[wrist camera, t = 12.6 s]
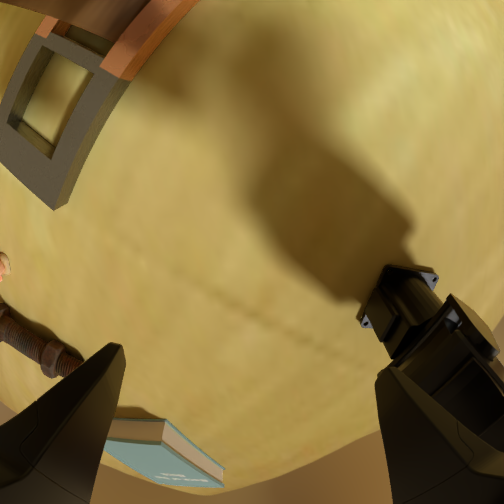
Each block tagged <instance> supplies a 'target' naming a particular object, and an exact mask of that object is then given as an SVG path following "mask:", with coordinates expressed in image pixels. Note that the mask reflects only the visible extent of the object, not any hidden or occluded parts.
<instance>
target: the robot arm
mask: <svg viewBox="0 0 504 504" xmlns="http://www.w3.org/2000/svg"><path fill="white" fill-rule="evenodd" d="M388 270H390V272H388ZM433 278H434V279H433ZM438 279H439V277H438V275H437V274H436V273H433V272H428V271H422V270H417V269H411V268H406V267H400V266H395V265H386V266H385V267H384V269H383V271H382V273H381V276H380V278H379V281H378V283H377V285H376V287H375V289H374V291H373V293H372V295H371V297H370V300H369V302H368V304H367V306H366V308H365V312H364V314H363V316H362V318H361V320H360V325H361V327H363V328H373V329H374V331H375V333H376V335H377V337H378V339H379V341H380V342H383V344H384V346H385V348H386V350H387V352H388V354H389V356H390V358H391V359H394V360H393V361H392V362H391V363H390V364H389V365H388V366H387V367H386V368H384V369H383V370H381V371H380V372H379V373H378V374H377V377H378V378H377V379H376V381H375V393H376V401H377V410H378V418H379V424H380V429H381V434H382V439H383V444H384V449H385V454H386V460H387V466H388V472H389V478H390V485H391V492H392V499H393V504H504V366H503V365H502V364H501V362H500V361H499V360H498V359H497V357H496V356H497V355H498V354H499V352H500V349H499V347H498V345H497V343H496V340H495V338H494V337H493V334H492V332H491V330H490V329H489V327H488V326H487V325H486V324H485V322H484V321H483V320H482V319H481V318H480V317H479V316H478V315H477V314H476V312H475V311H474V310H472V309H471V308H470V307H468V306H467V305H466V304H465V303H463V302H462V301H461V300H459V299H458V298H457V297H455V296H454V295H453V294H451V293H450V294H449V296H448V297H447V298H446V301H445V303H444V304H443V302H442V301H441V300H440V299H439V298H438V297H437V295H436V294H435V293H434V292H433V290H434V288H435V286H436V283H437V281H438ZM365 322H366V323H365ZM125 367H126V360H125V355H124V350H123V346H122V345H121V344H117V343H113V342H110V343H108V344H107V345H105V346H104V347H103V348H102V349H100V350H99V351H98V352H96V353H95V354H94V355H93V356H91V357H90V358H89V359H87V360H86V361H85V362H84V363H82V364H81V365H80V366H79V367H77V368H76V369H75V370H73V371H72V372H71V373H70V374H68V375H67V376H66V377H65V378H63V379H62V380H61V381H60V382H58V383H57V384H56V385H55V386H53V387H52V388H51V389H50V390H48V391H47V392H46V393H45V394H43V395H42V396H41V397H40V398H38V399H37V401H34V402H33V403H32V404H31V405H30V406H28V407H27V408H26V409H24V410H23V411H22V412H20V413H19V414H18V415H16V416H15V417H13V418H12V419H10V420H9V421H7V422H6V423H4V424H2V425H1V426H0V504H90V499H91V495H92V491H93V487H94V483H95V478H96V475H97V470H98V467H99V464H100V460H101V456H102V453H103V449H104V446H105V443H106V439H107V436H108V433H109V430H110V426H111V423H112V420H113V417H114V414H115V411H116V407H117V404H118V399H119V394H120V389H121V385H122V380H123V376H124V372H125Z"/></svg>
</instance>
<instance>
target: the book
mask: <svg viewBox="0 0 504 504" xmlns="http://www.w3.org/2000/svg"><path fill="white" fill-rule="evenodd" d="M103 450H105V451H106V452H107V453H109V454H110V455H112V456H113V457H115V458H116V459H118V460H119V461H121V462H122V463H124V464H126V465H127V466H129V467H130V468H132V469H134V470H135V471H137V472H139V473H140V474H142V475H144V476H146V477H147V478H149V479H151V480H153V481H155V482H156V483H158V484H162V483H164V484H167V485H177V486H190V487H224V484H223V483H222V479H223V470H225V468H224V467H222V466H221V465H220V464H218V463H217V462H216V461H214V460H213V459H212V458H210V457H209V456H208V455H207V454H205V453H204V452H203V451H202V450H201V449H199V448H198V447H197V446H196V445H195V444H193V443H192V442H191V441H190V440H189V439H188V438H186V437H185V436H184V435H183V434H182V433H181V432H180V431H179V430H178V429H176V428H175V427H174V426H173V425H172V424H171V423H170V422H169V421H168V420H167V419H128V418H113V420H112V423H111V426H110V430H109V433H108V436H107V439H106V443H105V446H104V449H103Z"/></svg>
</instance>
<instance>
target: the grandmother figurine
mask: <svg viewBox="0 0 504 504" xmlns="http://www.w3.org/2000/svg"><path fill="white" fill-rule="evenodd" d="M10 273H11V269H10V265H9V260H8V258H7V256H6V255H5V254H3V253H1V254H0V282H1V281H2V279H3V278H2V276H1V275H2V274H3V275H9V274H10Z"/></svg>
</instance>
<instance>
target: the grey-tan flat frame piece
mask: <svg viewBox="0 0 504 504" xmlns="http://www.w3.org/2000/svg"><path fill="white" fill-rule="evenodd" d="M198 1H199V0H151V1H150V2H149V3H148V4H147V5H146V6H145V7H144V8H143V10H142V11H141V12H140V13H139V14H138V15H137V16H136V18H135V19H134V20H133V21H132V22H131V24H130V25H129V26H128V27H127V29H126V30H125V31H124V32H123V34H122V35H121V36H120V38H119V39H118V40H117V42H116V43H115V44H114V46H113V47H112V48H111V50H110V51H109V53H108V54H107V56H106V57H104V56H103V55H101V54H99V53H97V52H95V51H93V50H91V49H89V48H87V47H85V46H83V45H81V44H79V43H77V42H75V41H73V40H71V39H69V38H67V37H65V34H66V33H67V31H68V30H69V28H70V27H71V25H72V24H70V23H67V22H64V21H62V20H59V19H56V18H54V17H51V16H48V15H46V16H45V18H44V19H43V21H42V23H41V24H40V26H39V27H38V29H37V30H36V32H35V34H34V35H33V37H32V39H31V40H30V42H29V44H28V46H27V48H26V49H25V51H24V53H23V55H22V57H21V59H20V61H19V63H18V65H17V67H16V69H15V71H14V73H13V75H12V78H11V80H10V82H9V84H8V87H7V89H6V91H5V94H4V96H3V99H2V102H1V104H0V162H1V163H2V164H3V165H4V166H5V167H6V168H7V169H8V170H9V171H10V172H11V173H12V174H13V175H14V176H15V177H16V178H17V179H18V180H19V181H21V182H22V183H23V184H24V185H25V186H26V187H27V188H28V189H29V190H30V191H32V192H33V193H34V194H35V195H36V196H37V197H38V198H39V199H41V200H42V201H43V202H44V203H45V204H46V205H47V206H49V207H50V208H51V209H52V210H53V211H54V210H56V209H58V208H59V207H61V206H63V205H65V204H67V203H68V200H69V198H70V195H71V193H72V190H73V188H74V185H75V183H76V181H77V178H78V176H79V174H80V172H81V169H82V167H83V165H84V163H85V161H86V159H87V157H88V155H89V153H90V151H91V149H92V147H93V145H94V143H95V141H96V139H97V137H98V135H99V133H100V131H101V130H102V128H103V126H104V124H105V122H106V121H107V119H108V117H109V116H110V114H111V112H112V111H113V109H114V107H115V106H116V104H117V102H118V101H119V99H120V98H121V96H122V94H123V93H124V91H125V90H126V88H127V87H128V85H129V84H130V82H131V81H132V80H133V78H134V77H135V75H136V74H137V72H138V71H139V70H140V68H141V67H142V66H143V64H144V63H145V62H146V60H147V59H148V58H149V56H150V55H151V54H152V53H153V51H154V50H155V49H156V48H157V46H158V45H159V44H160V43H161V41H162V40H163V39H164V38H165V37H166V36H167V34H168V33H169V32H170V31H171V30H172V29H173V28H174V26H175V25H176V24H177V23H178V22H179V21H180V20H181V19H182V18H183V17H184V16H185V15H186V13H187V12H188V11H189V10H190V9H191V8H192V7H193V6H194V5H195V4H196V3H197V2H198ZM54 52H56V53H58V54H60V55H62V56H63V57H65V58H67V59H69V60H71V61H73V62H74V63H76V64H78V65H80V66H81V67H83V68H85V69H87V70H88V71H90V72H92V73H93V74H94V75H93V77H92V79H91V80H90V82H89V84H88V85H87V87H86V89H85V90H84V92H83V94H82V96H81V98H80V99H79V101H78V103H77V105H76V107H75V109H74V111H73V113H72V115H71V117H70V119H69V121H68V123H67V125H66V127H65V129H64V131H63V133H62V135H61V138H60V140H59V142H58V145H57V147H56V148H55V147H54V146H52V145H51V144H50V143H49V142H47V141H46V140H45V139H44V138H42V137H41V136H40V135H39V134H37V133H36V132H35V131H34V130H32V129H31V128H30V127H29V126H27V125H26V124H25V123H24V122H23V121H21V120H22V117H23V114H24V112H25V110H26V107H27V105H28V102H29V100H30V98H31V96H32V94H33V91H34V89H35V87H36V85H37V83H38V81H39V79H40V77H41V75H42V73H43V71H44V69H45V67H46V66H47V64H48V62H49V60H50V58H51V57H52V55H53V53H54Z"/></svg>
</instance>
